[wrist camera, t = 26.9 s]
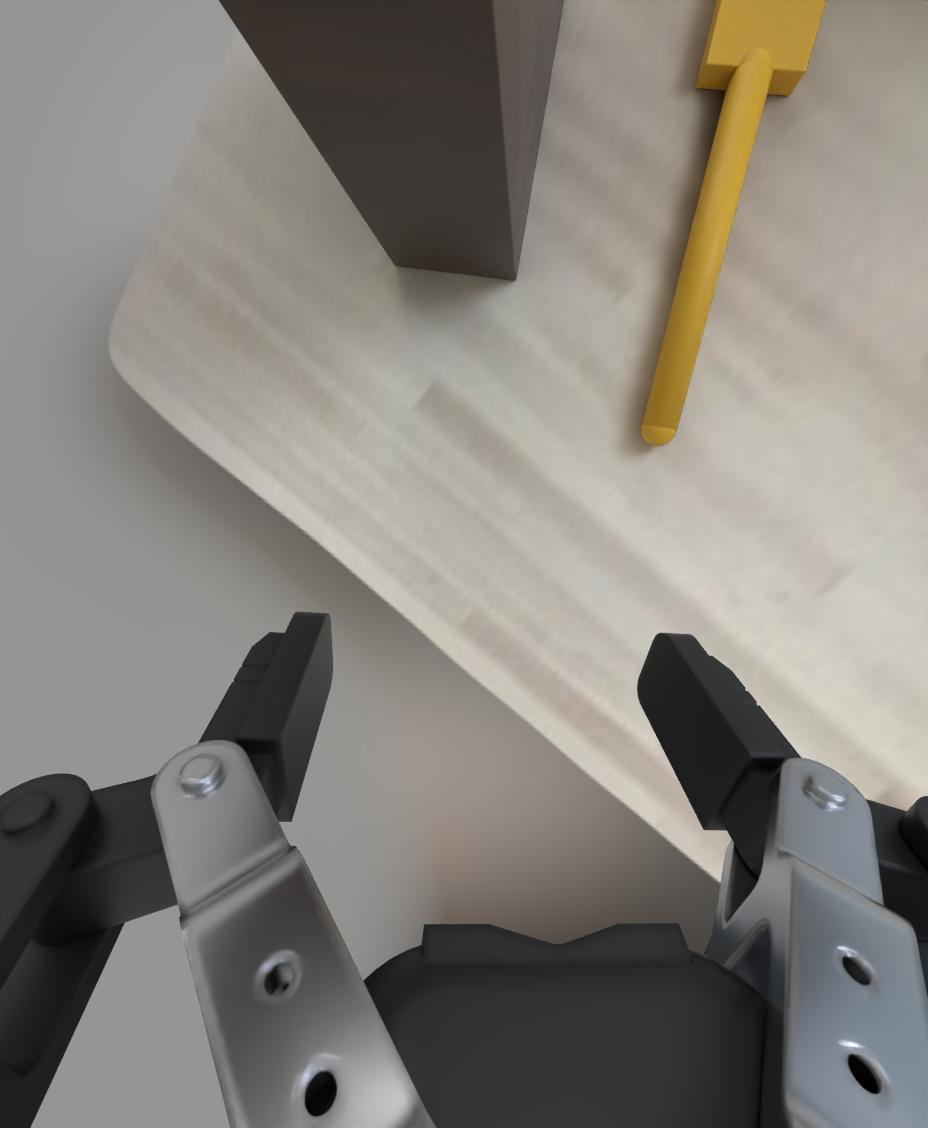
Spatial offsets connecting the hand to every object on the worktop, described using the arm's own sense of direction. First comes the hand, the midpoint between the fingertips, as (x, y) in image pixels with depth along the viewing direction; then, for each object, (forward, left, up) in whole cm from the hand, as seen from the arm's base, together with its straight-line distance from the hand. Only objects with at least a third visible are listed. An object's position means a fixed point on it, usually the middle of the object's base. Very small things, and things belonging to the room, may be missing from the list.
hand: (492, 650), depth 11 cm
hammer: (+2, +19, -17) cm, 26 cm away
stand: (-11, +19, -17) cm, 28 cm away
